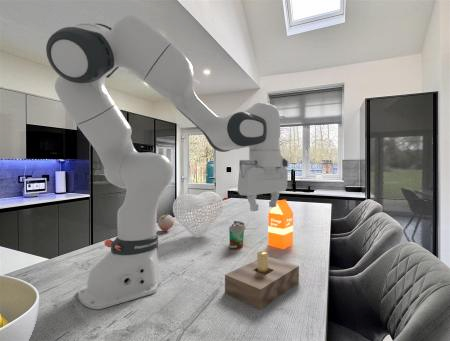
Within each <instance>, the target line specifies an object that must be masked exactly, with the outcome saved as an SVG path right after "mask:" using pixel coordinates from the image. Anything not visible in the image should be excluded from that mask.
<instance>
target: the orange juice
mask: <svg viewBox="0 0 450 341" xmlns="http://www.w3.org/2000/svg"><path fill="white" fill-rule="evenodd" d="M270 208H271V209H269V211H268V223H267V224H268V228H267V231H268V234H267V235H268V238H267V239H268V242H267V244H268V246H270V247H273V248H279V249H281V250H284V249H285V250H286V248H289V247H291V246H293V245H294V212H293V210H292V208H291V207H290V205H289V203H288V202H287V199H281V200H277V206H276V207H270Z"/></svg>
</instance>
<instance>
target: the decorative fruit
mask: <svg viewBox="0 0 450 341" xmlns="http://www.w3.org/2000/svg"><path fill="white" fill-rule="evenodd" d="M174 224H175V219H174V217H173V216H172V215H171V214H169V213H166V212H165V214H164V215H161V216H160V217H159V218H157V226H158V228H159V229H160V230H161V231H163V232H167V231H169V230H170V229H172V228H173V227H174Z"/></svg>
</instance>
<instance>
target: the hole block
mask: <svg viewBox="0 0 450 341" xmlns="http://www.w3.org/2000/svg"><path fill="white" fill-rule="evenodd" d="M299 278H300V266H299V265H297V264H294V263H290V262H286V261H284V260H281V259H278V258H273V257H271V256H268V274H266V275H265V274H262V273H259V272H257V259H256V260H254V261H252V262H250V263H247V264H245V265H243V266H240V267H239V268H236V269H235V270H232V271H230V272H228V273H226V274H224V294H227V295H230V296H231V297H234V298H236V299H237V300H239V301H242V302H243V303H245V304H248V305H250V306H252V307H255V308H256V309H258V310H262V309H264V307H265V308H266V306H267V305H269V304H271V303H272V302H273V301H274V300H276V299H278V298H279V297H280V296H282V295H283V294H284V293H286V292H287V291H288V290H290V289H292V288H293V287H294V286H295V285H297V284H299V282H300V279H299Z"/></svg>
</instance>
